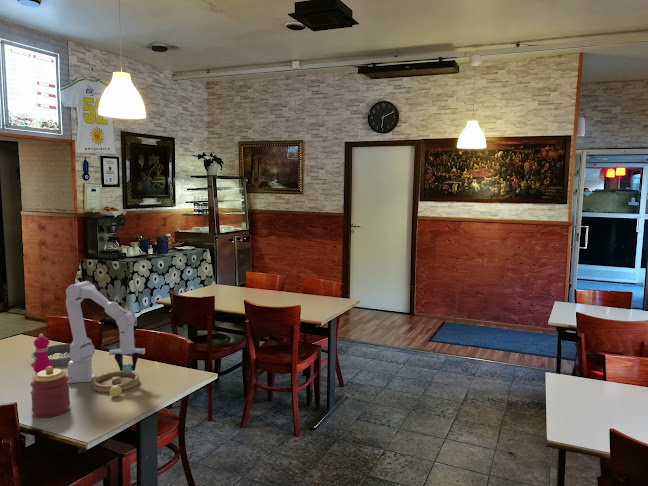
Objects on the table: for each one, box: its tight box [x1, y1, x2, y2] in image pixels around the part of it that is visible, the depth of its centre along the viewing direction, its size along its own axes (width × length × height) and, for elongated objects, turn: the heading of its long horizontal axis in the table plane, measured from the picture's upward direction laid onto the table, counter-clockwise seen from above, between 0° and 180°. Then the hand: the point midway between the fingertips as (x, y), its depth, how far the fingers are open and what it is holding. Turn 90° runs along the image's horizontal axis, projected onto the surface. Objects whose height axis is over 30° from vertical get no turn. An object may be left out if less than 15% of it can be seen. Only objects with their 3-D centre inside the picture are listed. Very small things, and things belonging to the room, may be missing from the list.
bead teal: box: [122, 362, 134, 374], centre depth 216 cm, size 5×5×5 cm
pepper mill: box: [33, 333, 53, 375], centre depth 223 cm, size 7×7×20 cm
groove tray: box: [92, 370, 140, 394], centre depth 216 cm, size 18×18×3 cm
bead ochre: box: [109, 385, 123, 398], centre depth 203 cm, size 5×5×5 cm
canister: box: [30, 366, 71, 418], centre depth 189 cm, size 13×13×18 cm
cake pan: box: [31, 343, 72, 367], centre depth 247 cm, size 25×25×4 cm
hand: (127, 370), depth 216 cm, fingers closed on bead teal, 5 cm apart
